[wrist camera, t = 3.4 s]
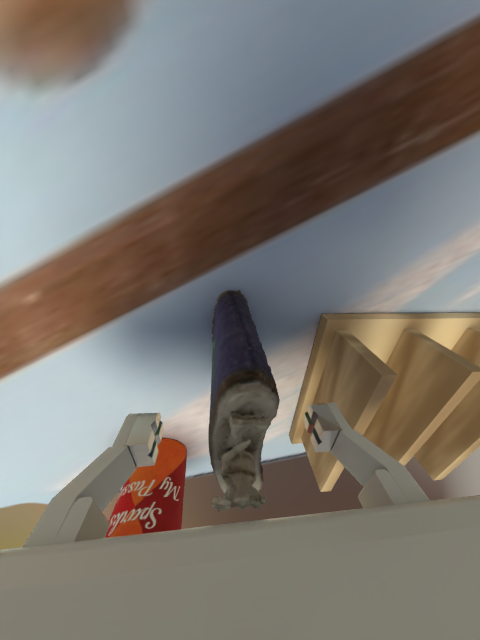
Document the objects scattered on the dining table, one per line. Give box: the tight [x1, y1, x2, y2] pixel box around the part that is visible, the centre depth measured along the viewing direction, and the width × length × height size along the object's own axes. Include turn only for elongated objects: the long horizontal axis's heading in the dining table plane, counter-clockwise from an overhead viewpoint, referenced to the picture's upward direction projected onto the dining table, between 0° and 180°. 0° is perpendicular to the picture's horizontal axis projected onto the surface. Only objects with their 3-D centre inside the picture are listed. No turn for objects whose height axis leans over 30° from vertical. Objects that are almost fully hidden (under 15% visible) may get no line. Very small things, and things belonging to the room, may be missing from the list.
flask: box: [209, 290, 279, 511], centre depth 12 cm, size 9×3×11 cm, turn 178°
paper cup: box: [105, 438, 187, 538], centre depth 17 cm, size 8×8×14 cm
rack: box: [289, 313, 480, 492], centre depth 18 cm, size 15×17×6 cm
